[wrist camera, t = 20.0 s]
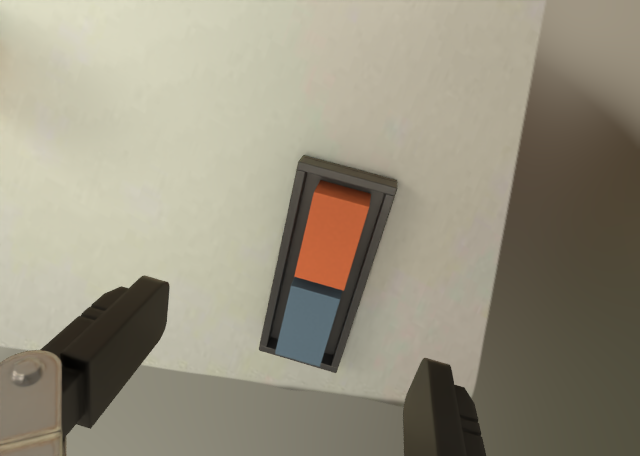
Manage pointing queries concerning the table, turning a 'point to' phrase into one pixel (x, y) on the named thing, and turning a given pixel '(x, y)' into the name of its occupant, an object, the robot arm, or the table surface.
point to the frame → (291, 243)
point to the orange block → (332, 234)
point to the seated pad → (307, 321)
